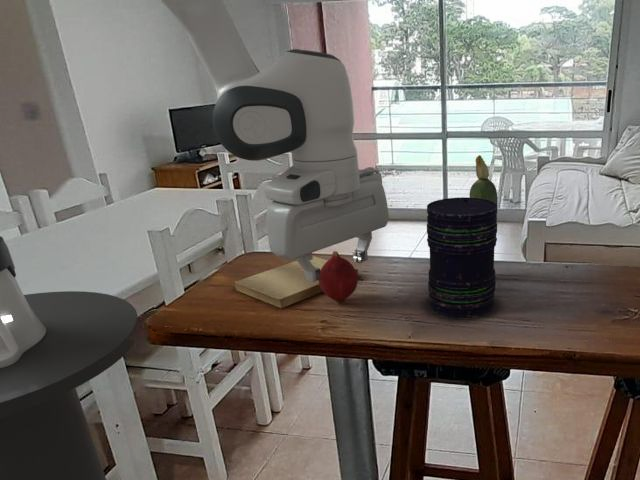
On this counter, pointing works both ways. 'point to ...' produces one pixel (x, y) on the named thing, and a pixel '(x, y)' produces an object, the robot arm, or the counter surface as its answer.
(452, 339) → the counter surface
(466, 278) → the storage jar
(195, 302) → the counter surface
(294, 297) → the cutting board
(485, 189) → the vegetable
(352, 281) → the onion
